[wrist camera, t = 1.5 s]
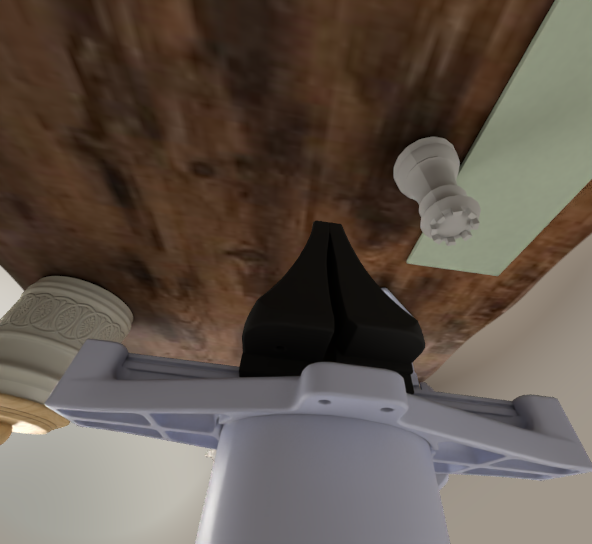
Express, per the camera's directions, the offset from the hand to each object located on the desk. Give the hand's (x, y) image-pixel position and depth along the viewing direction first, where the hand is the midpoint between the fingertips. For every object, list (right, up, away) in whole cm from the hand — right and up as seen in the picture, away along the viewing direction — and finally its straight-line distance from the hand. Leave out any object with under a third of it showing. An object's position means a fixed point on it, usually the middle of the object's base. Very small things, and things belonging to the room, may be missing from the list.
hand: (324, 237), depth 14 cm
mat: (+16, +6, +8) cm, 18 cm away
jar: (-31, -6, +26) cm, 41 cm away
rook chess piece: (+8, +7, +7) cm, 13 cm away
